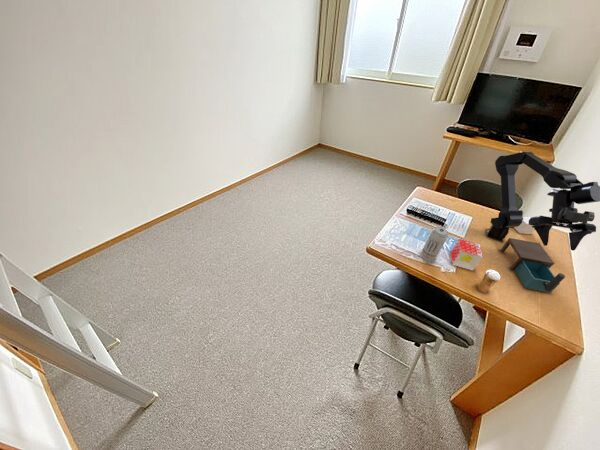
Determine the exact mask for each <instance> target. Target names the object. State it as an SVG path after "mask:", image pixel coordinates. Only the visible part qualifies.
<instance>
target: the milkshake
mask: <svg viewBox="0 0 600 450" xmlns="http://www.w3.org/2000/svg"><path fill="white" fill-rule="evenodd" d="M500 280H501V275H500V273H499V272H498V271H496V270H494V269H488V270H486V272H485V273H484V275H483V277H482V279H481V281H480V282H479V284H478V285H477V289H478V291H480V292H481V293H487V292H488V291H489V290H491V288H492V287H493V286H494V285H495V284H497V283H498V281H500Z"/></svg>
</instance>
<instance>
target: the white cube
mask: <svg viewBox="0 0 600 450" xmlns="http://www.w3.org/2000/svg"><path fill="white" fill-rule="evenodd" d="M530 218H531V216H523V220H522V224H520V225H519V226H518V227H514V228H513V229H515V230H516V231H517V233H518V234H522V235H523V234H524V235H533V233H534V232H535V231H536V230H535V229H534V228H532V226H533V225H529V219H530Z"/></svg>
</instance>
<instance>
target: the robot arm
mask: <svg viewBox="0 0 600 450" xmlns="http://www.w3.org/2000/svg"><path fill="white" fill-rule="evenodd" d="M494 165H495V170H496V172H497V174H498V175H499V177H500V187H501V188H500V191H501V205H502V206H501V209H500V211H499V212H498V215H497V216H498V217H491V219H490V224H491V225H490V227H489V228H487V229H486V236H487V238H492V239H494V240H497V241H500V242H503V240H505V239H506V237H507V236H508V234H509V233H510V229H515V228H514V227H518V226H519V225H520V224H522V220H523V217H524V216H523V215H524V212H523V210H522V209H521V210H519V208H518V207H517V195H516V177H515V175H516V174H517V172H518V170H519V166H520V165H525V166H527V167H528V168H530V169H531V170H533V171H534V172H535V173H537V174H538V175H540V176H541V177H542V179H543V182H545V184H546V185H547V186H548V187H549V188H552V190H551V191H549V192H548V193H547V194H546V195H547V196H550V197H552V207H551V208H548V212H549V213H551V216H545V215H536V216H532V217H531V216H530V217H531V218H530V219H529V225H533V226H532V228H534V229H535V230H534V231H535V232H536V233H537V235H538V237H539V238H540V241H541V243H542V244H543V246H544V247H547V246H548V245H549V238H550V231H551V229H552V228H553V227H556V228H557V227H558V228H562V229H563V228H564V229H568V230H569V231H570V232H568V238H569V247H570V251H576V249H577V248H578V246H579V245H580V243H581V241H582V240H583V238H584V237H586V236H588V235H591V234H592V233H596V232H597V226H596V225H595V224H594V223H589V222H593V221H594V220H595V217H596V216H595V212H594V211H587V210H585V211H583V212H579V211H578V208H577V207H575V204H577V205H583V204H593V203H599V202H600V185H599V182H598V181H589V182H587V183H583V182H582V181H581V180H579V179H578V177H577V175H576V174H575V173H573V172H572V171H569V170H565V169H562V168H557V167H556V166H554V165H552V164H551V163H549V162H547V161H545V160H544V159H542V158H541V157H539V156H537V155H536V154H534V152H532V151H519V152H516V153H512V154H507V155H500V156H498V157H497V158H496V160H495V161H494Z"/></svg>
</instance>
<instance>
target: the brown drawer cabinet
mask: <svg viewBox="0 0 600 450" xmlns="http://www.w3.org/2000/svg"><path fill="white" fill-rule="evenodd" d="M509 246H510V247H511V248H512V250H513V252H514V253H515V255H516V256H517V258H516V260H515V261H514V262H513V264H512V265H511V266H510V267H509V269H510V271H515V269H516V268H517V267H518V265H519V264H520V263H521V262H522V261H523V260H524V261H529V262H535V263H541V264H546V265H547V266H548V268H549V269H551V268H552V267H553V266H554V265H555V262H554V261H553V259H552V257H551V256H550V255H549V253H548V252H547V251H546V249H544V247H543V246H542V245H541V243H540V242H535V241H529V240H523V239H517V238H512V237H508V239H507V240H506V242H505V243H504V244H503V246H502V247H501V249H499V252H500V253H501V254H504V253H505V252H506V251H507V249H508V248H509Z"/></svg>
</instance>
